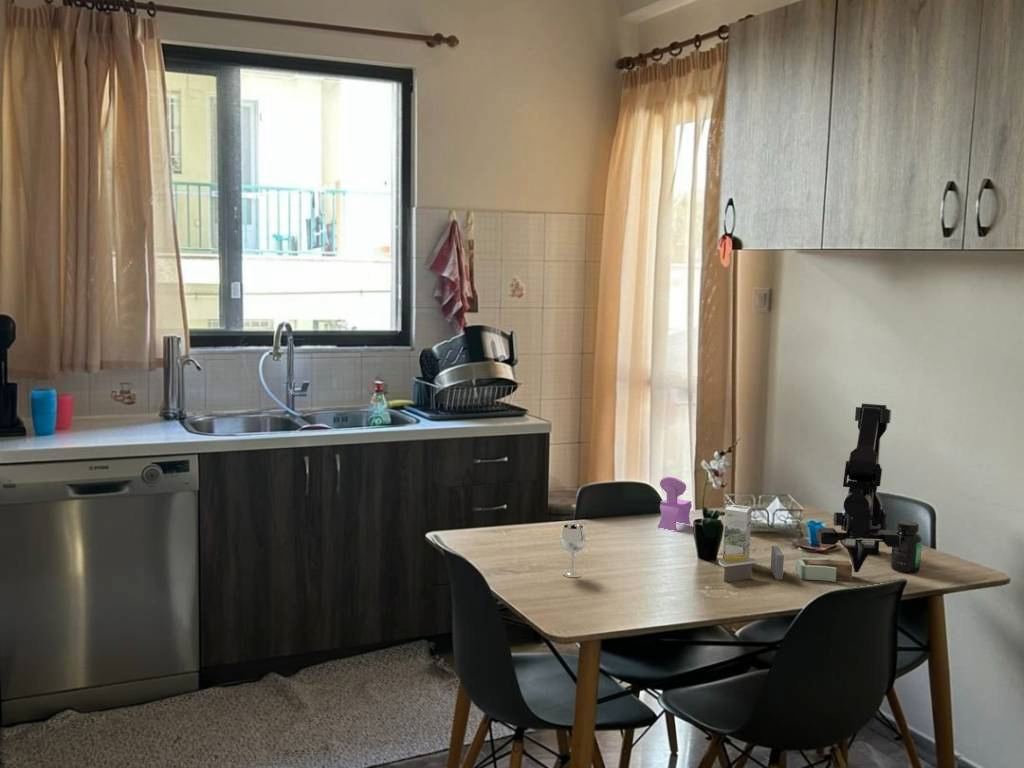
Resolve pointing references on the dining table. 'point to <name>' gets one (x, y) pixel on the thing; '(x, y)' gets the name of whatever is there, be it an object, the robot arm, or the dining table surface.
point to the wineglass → (572, 541)
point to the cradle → (815, 570)
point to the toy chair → (673, 504)
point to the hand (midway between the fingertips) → (856, 571)
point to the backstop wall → (777, 562)
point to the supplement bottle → (907, 548)
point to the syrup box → (737, 530)
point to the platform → (737, 566)
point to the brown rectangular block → (842, 567)
